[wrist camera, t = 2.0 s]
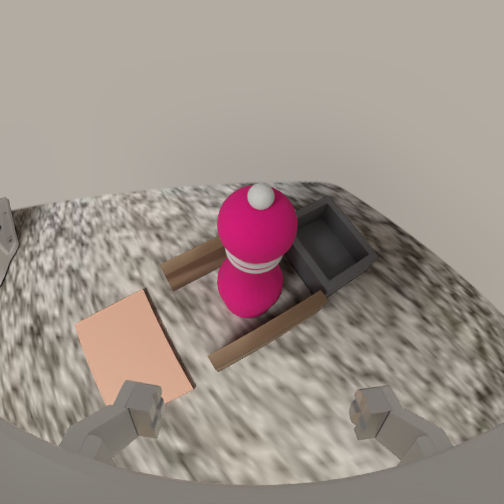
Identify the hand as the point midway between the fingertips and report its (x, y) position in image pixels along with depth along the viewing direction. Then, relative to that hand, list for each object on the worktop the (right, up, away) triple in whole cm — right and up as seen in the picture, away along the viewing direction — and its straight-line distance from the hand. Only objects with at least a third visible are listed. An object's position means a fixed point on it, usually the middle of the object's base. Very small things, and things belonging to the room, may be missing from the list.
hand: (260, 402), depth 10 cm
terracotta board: (-15, -7, +20) cm, 26 cm away
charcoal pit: (+9, +6, +28) cm, 30 cm away
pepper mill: (-1, +1, +25) cm, 25 cm away
